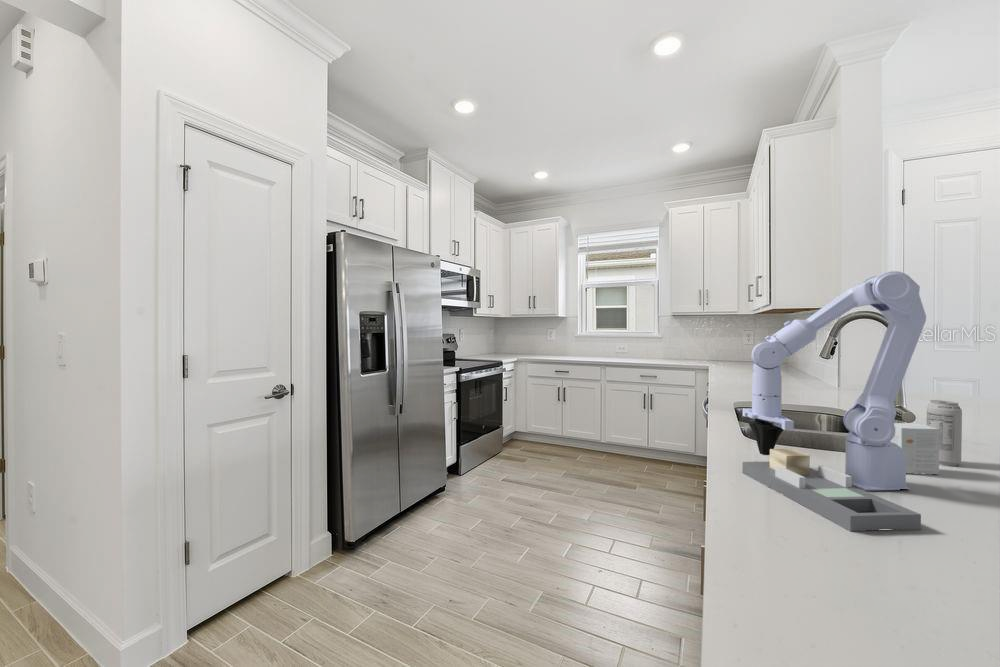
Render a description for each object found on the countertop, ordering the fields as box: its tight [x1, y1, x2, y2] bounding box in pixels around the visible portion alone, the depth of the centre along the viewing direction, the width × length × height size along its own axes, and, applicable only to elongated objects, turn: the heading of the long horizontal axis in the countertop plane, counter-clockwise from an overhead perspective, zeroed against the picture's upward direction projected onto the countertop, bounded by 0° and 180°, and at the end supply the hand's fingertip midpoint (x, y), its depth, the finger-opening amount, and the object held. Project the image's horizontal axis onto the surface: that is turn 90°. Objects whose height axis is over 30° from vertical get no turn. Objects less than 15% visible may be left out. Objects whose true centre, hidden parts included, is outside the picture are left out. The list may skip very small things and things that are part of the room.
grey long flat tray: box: [741, 461, 922, 532], centre depth 83 cm, size 12×28×4 cm, turn 3°
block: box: [769, 448, 811, 475], centre depth 91 cm, size 5×5×4 cm
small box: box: [891, 422, 940, 475], centre depth 99 cm, size 8×6×10 cm
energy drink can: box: [925, 399, 963, 467], centre depth 105 cm, size 6×6×15 cm
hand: (765, 454), depth 98 cm, fingers closed
